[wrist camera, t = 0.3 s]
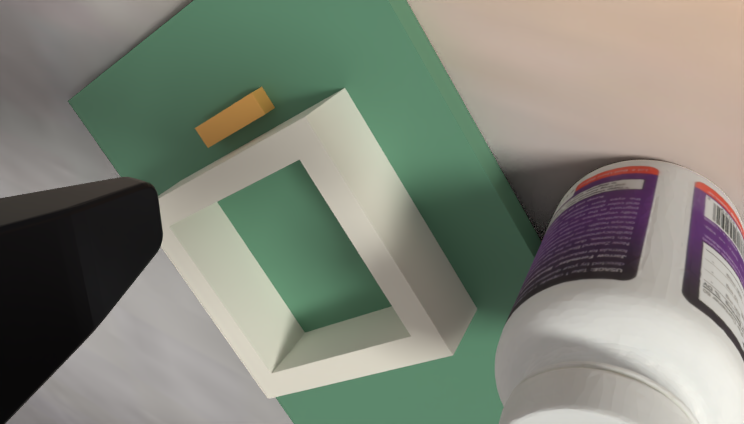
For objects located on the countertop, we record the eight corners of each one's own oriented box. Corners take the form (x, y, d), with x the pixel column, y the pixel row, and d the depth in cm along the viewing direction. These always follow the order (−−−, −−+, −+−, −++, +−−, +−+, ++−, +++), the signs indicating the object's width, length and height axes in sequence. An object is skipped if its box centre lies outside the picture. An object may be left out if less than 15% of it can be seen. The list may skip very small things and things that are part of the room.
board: (622, 386, 24) (605, 462, 21) (325, 437, 32) (286, 498, 29) (344, -111, 20) (280, -96, 17) (86, 92, 28) (15, 124, 25)
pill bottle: (536, 278, 23) (434, 513, 16) (579, 132, 20) (479, 333, 13) (708, 337, 22) (687, 631, 14) (781, 187, 19) (806, 456, 11)
